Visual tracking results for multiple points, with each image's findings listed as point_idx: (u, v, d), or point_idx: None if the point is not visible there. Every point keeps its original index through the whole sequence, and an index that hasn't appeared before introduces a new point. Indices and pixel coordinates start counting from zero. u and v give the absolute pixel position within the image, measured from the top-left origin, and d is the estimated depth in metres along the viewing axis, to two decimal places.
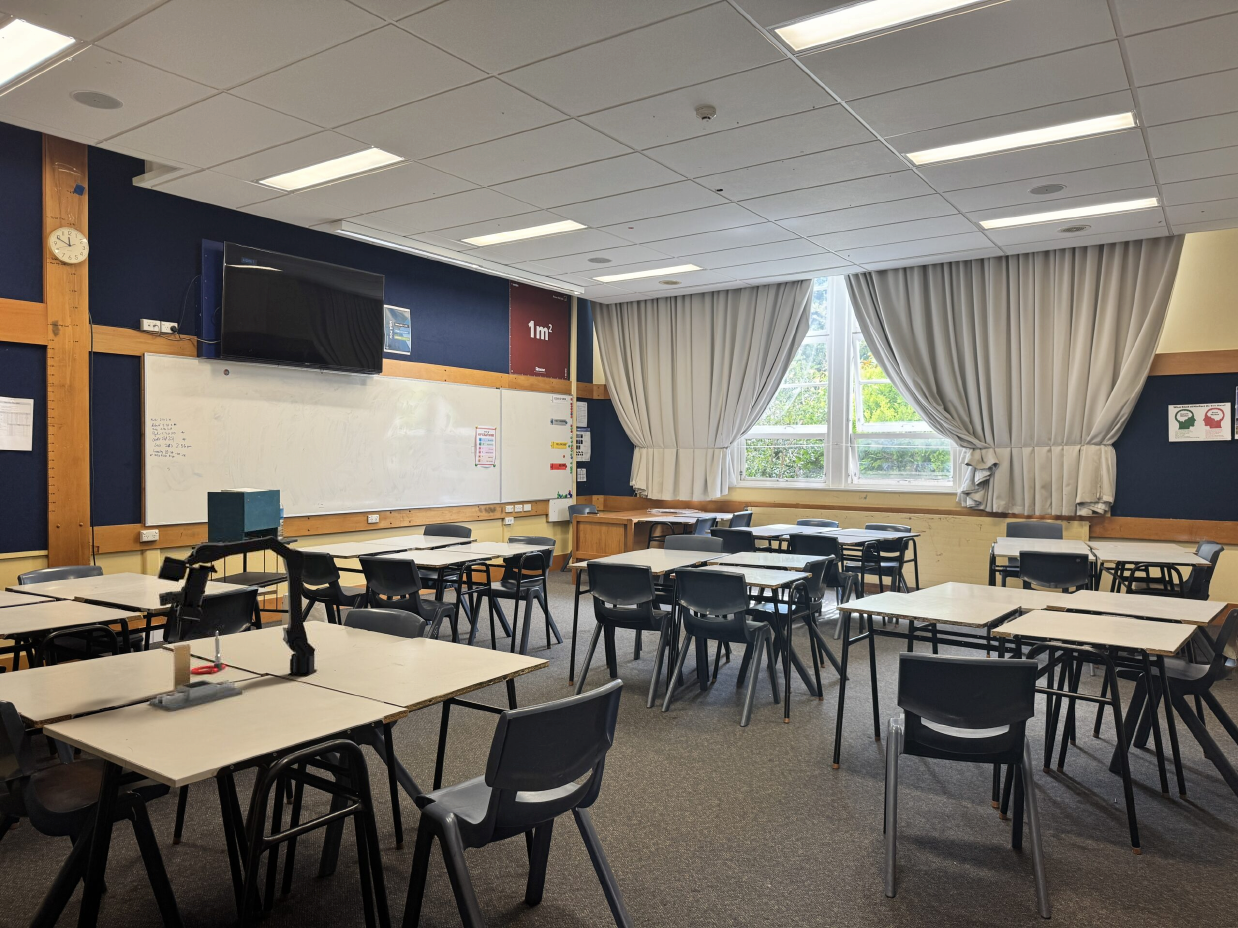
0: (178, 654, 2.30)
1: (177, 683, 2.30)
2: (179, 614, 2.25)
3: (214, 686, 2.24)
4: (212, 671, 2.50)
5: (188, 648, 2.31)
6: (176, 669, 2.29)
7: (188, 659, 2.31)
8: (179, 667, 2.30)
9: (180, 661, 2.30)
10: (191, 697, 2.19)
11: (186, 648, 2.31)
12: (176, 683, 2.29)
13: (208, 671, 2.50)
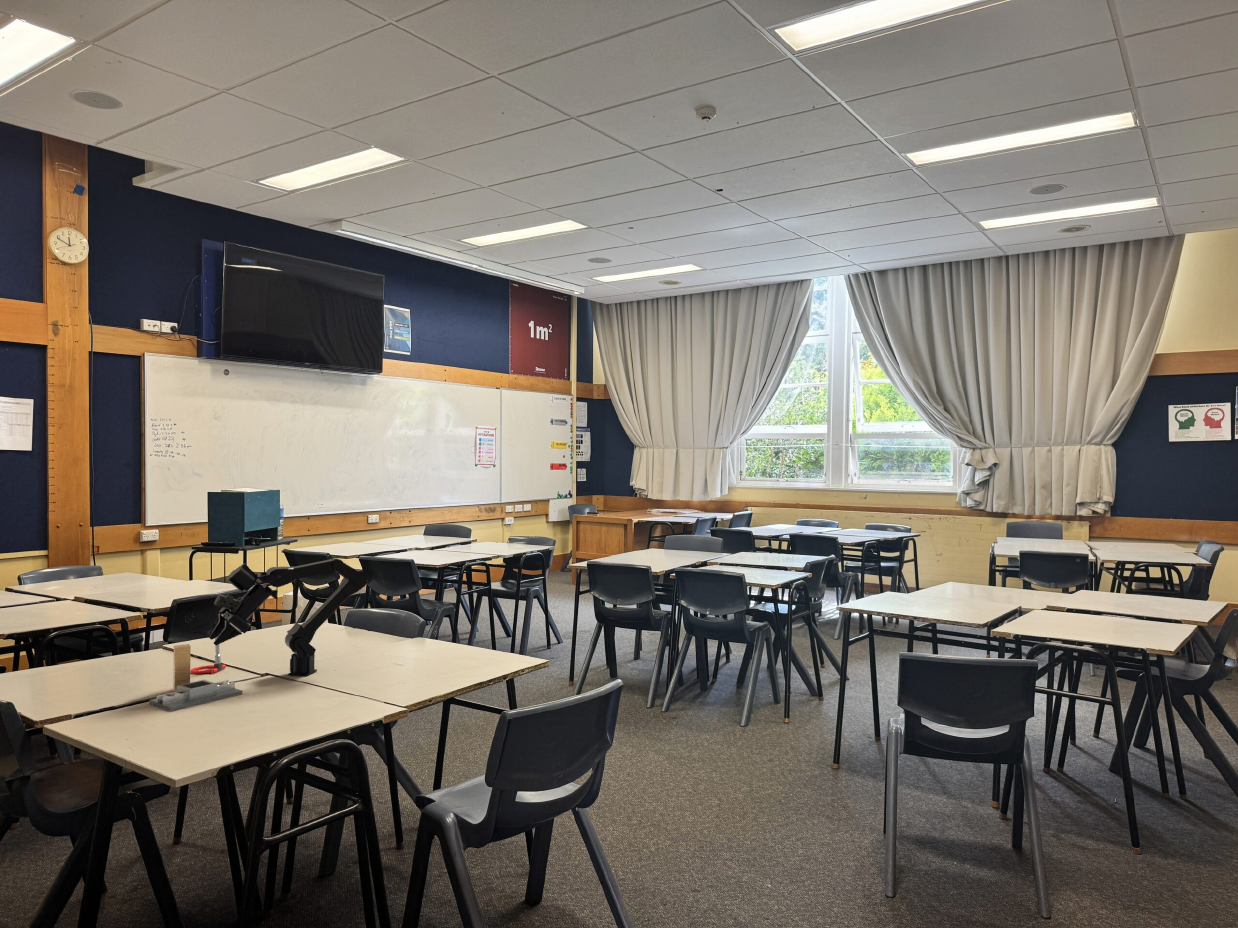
0: (178, 654, 2.30)
1: (177, 683, 2.30)
2: (230, 620, 2.31)
3: (214, 686, 2.24)
4: (212, 671, 2.50)
5: (188, 648, 2.31)
6: (176, 669, 2.29)
7: (188, 659, 2.31)
8: (179, 667, 2.30)
9: (180, 661, 2.30)
10: (191, 697, 2.19)
11: (186, 648, 2.31)
12: (176, 683, 2.29)
13: (208, 671, 2.50)
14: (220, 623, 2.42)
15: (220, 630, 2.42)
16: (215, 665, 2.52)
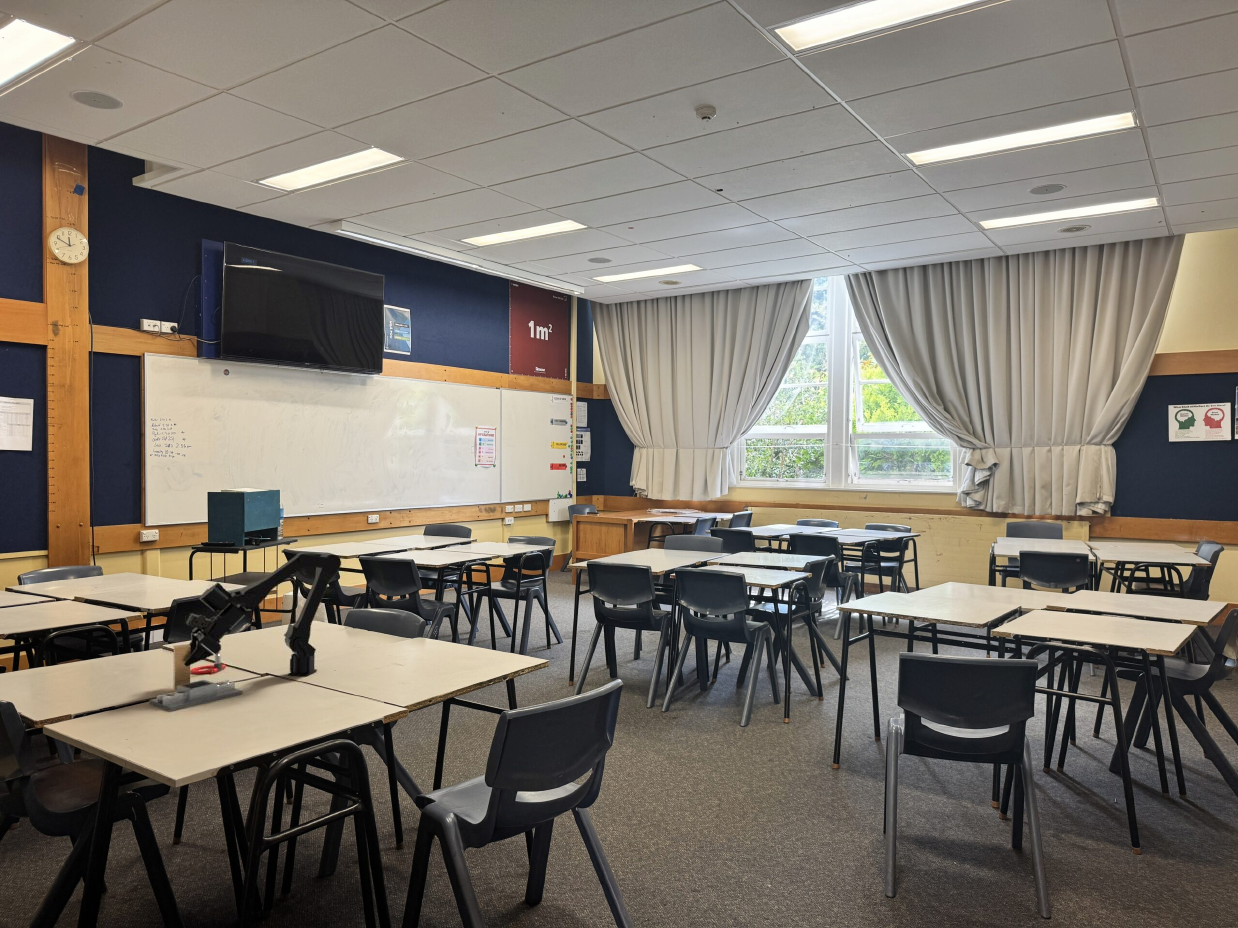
0: (178, 654, 2.30)
1: (177, 683, 2.30)
2: (201, 641, 2.27)
3: (214, 686, 2.24)
4: (212, 671, 2.50)
5: (188, 648, 2.31)
6: (176, 669, 2.29)
7: None
8: (179, 667, 2.30)
9: (180, 661, 2.30)
10: (191, 697, 2.19)
11: (186, 648, 2.31)
12: (176, 683, 2.29)
13: (208, 671, 2.50)
14: (192, 643, 2.38)
15: (192, 650, 2.38)
16: (215, 665, 2.52)
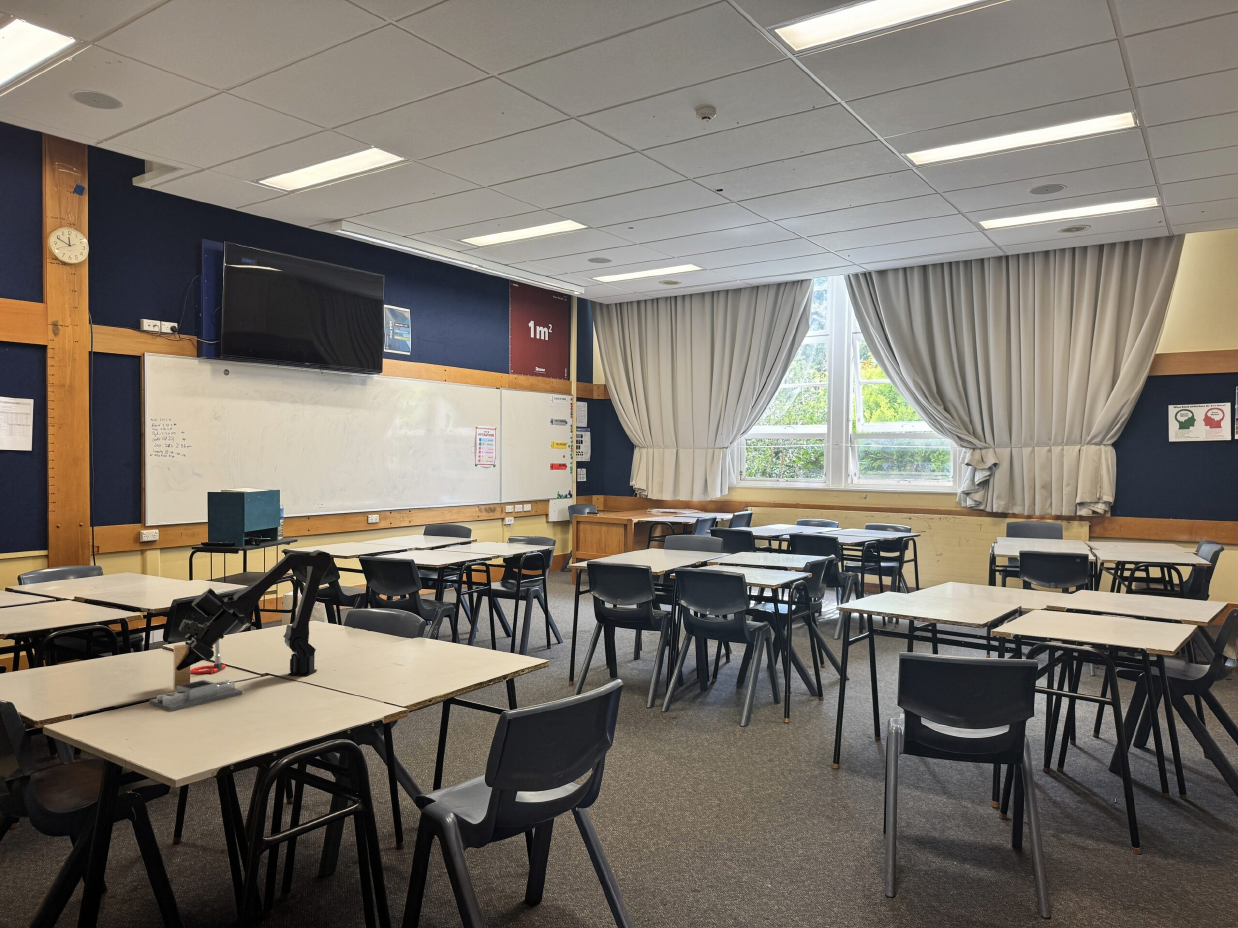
0: (178, 654, 2.30)
1: (177, 683, 2.30)
2: (194, 647, 2.26)
3: (214, 686, 2.24)
4: (212, 671, 2.50)
5: None
6: (176, 669, 2.29)
7: None
8: None
9: (180, 661, 2.30)
10: (191, 697, 2.19)
11: (186, 648, 2.31)
12: (176, 683, 2.29)
13: (208, 671, 2.50)
14: None
15: None
16: (215, 665, 2.52)
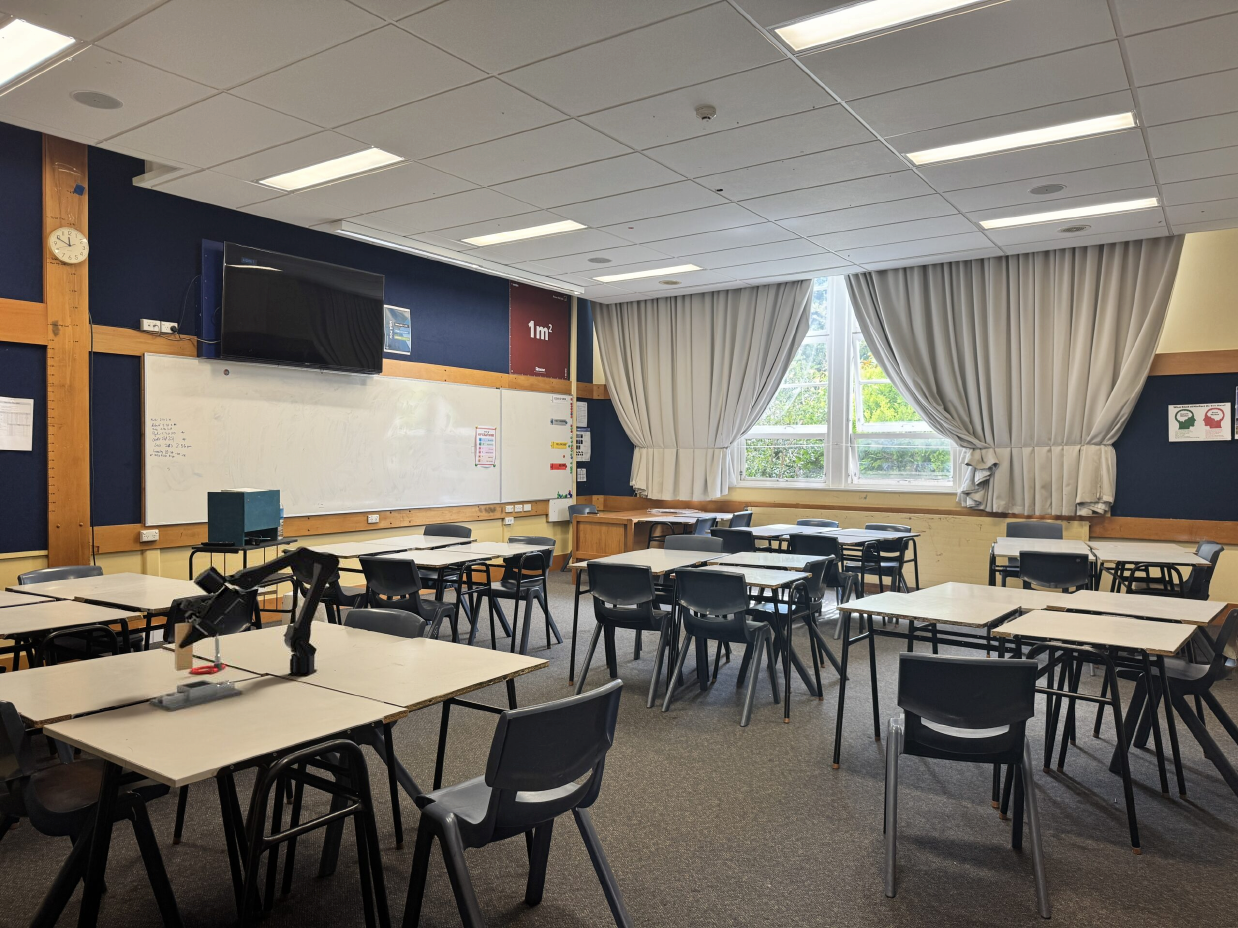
0: (180, 632, 2.28)
1: (180, 661, 2.28)
2: (199, 624, 2.24)
3: (214, 686, 2.24)
4: (212, 671, 2.50)
5: (190, 626, 2.29)
6: None
7: None
8: None
9: (183, 639, 2.28)
10: (191, 697, 2.19)
11: (188, 626, 2.29)
12: (179, 661, 2.27)
13: (208, 671, 2.50)
14: None
15: None
16: (215, 665, 2.52)
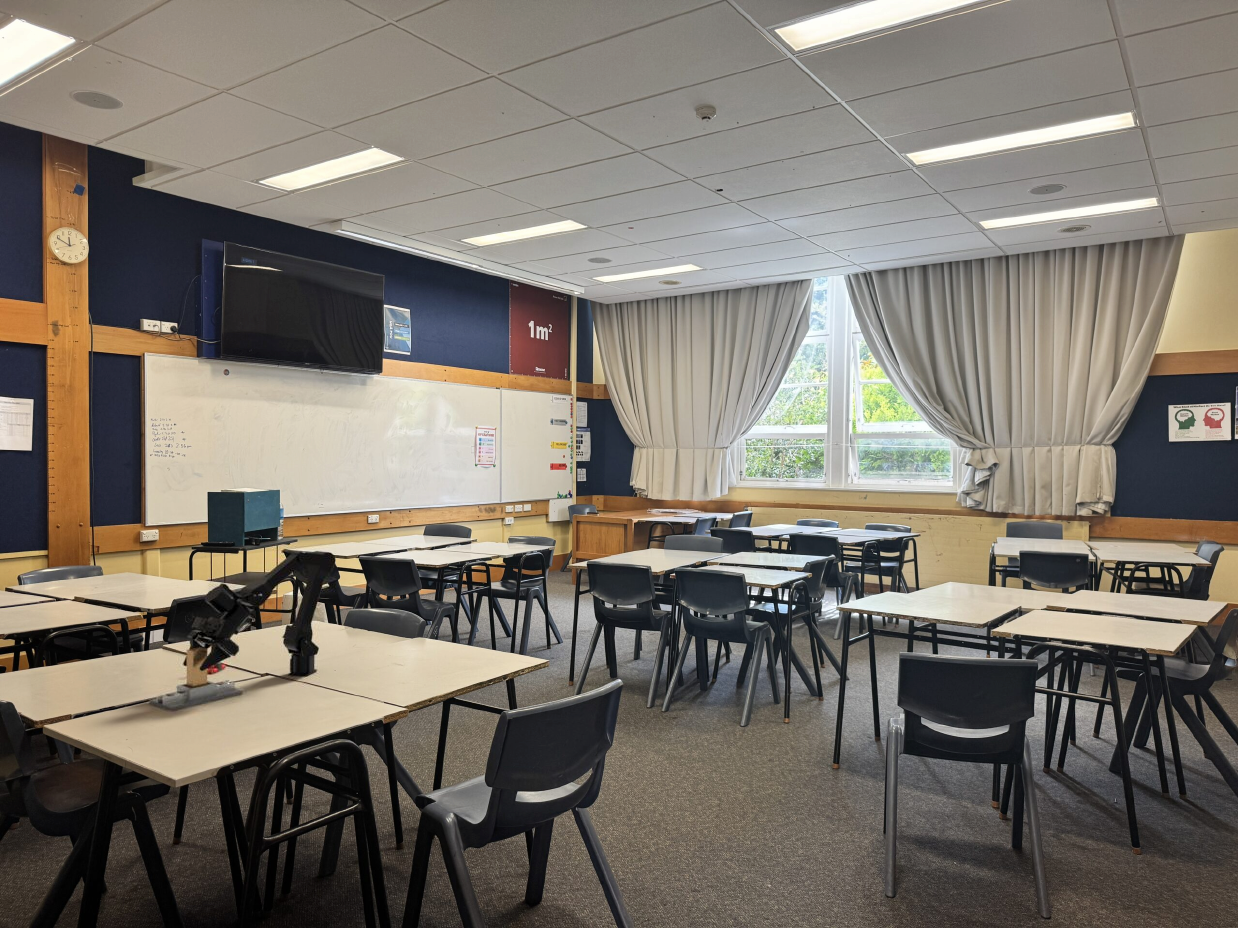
0: (196, 657, 2.22)
1: None
2: (222, 643, 2.20)
3: (214, 686, 2.24)
4: (212, 671, 2.50)
5: (205, 651, 2.24)
6: (194, 673, 2.21)
7: None
8: (197, 671, 2.22)
9: (198, 665, 2.22)
10: (191, 697, 2.19)
11: (203, 651, 2.23)
12: None
13: (208, 671, 2.50)
14: (193, 648, 2.27)
15: None
16: (215, 665, 2.52)
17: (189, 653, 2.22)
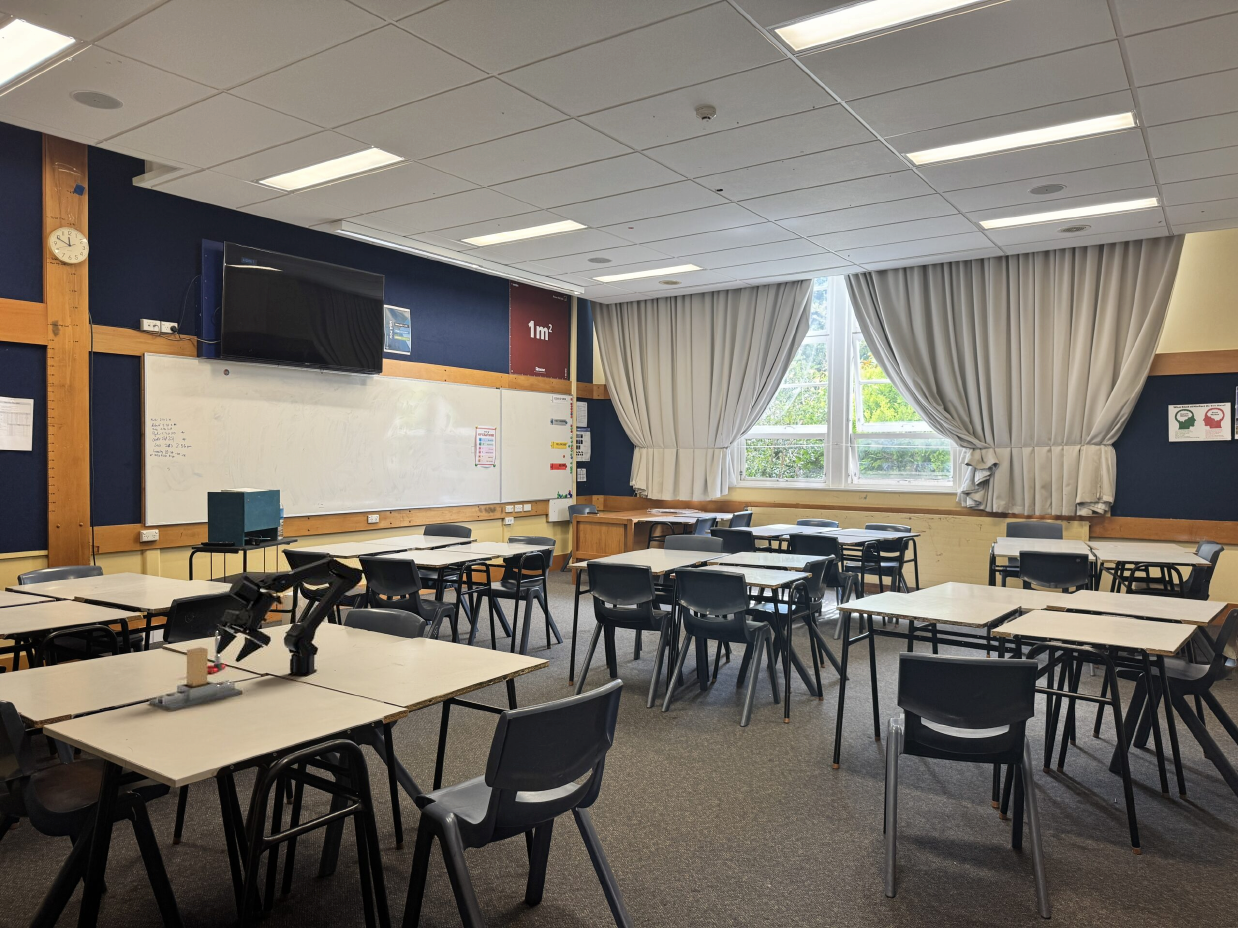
0: (196, 657, 2.22)
1: None
2: (255, 637, 2.30)
3: (214, 686, 2.24)
4: (212, 671, 2.50)
5: (205, 651, 2.24)
6: (194, 673, 2.21)
7: (205, 662, 2.24)
8: (197, 671, 2.22)
9: (198, 665, 2.22)
10: (191, 697, 2.19)
11: (203, 651, 2.23)
12: None
13: (208, 671, 2.50)
14: (224, 636, 2.37)
15: (225, 643, 2.37)
16: (215, 665, 2.52)
17: (189, 653, 2.22)
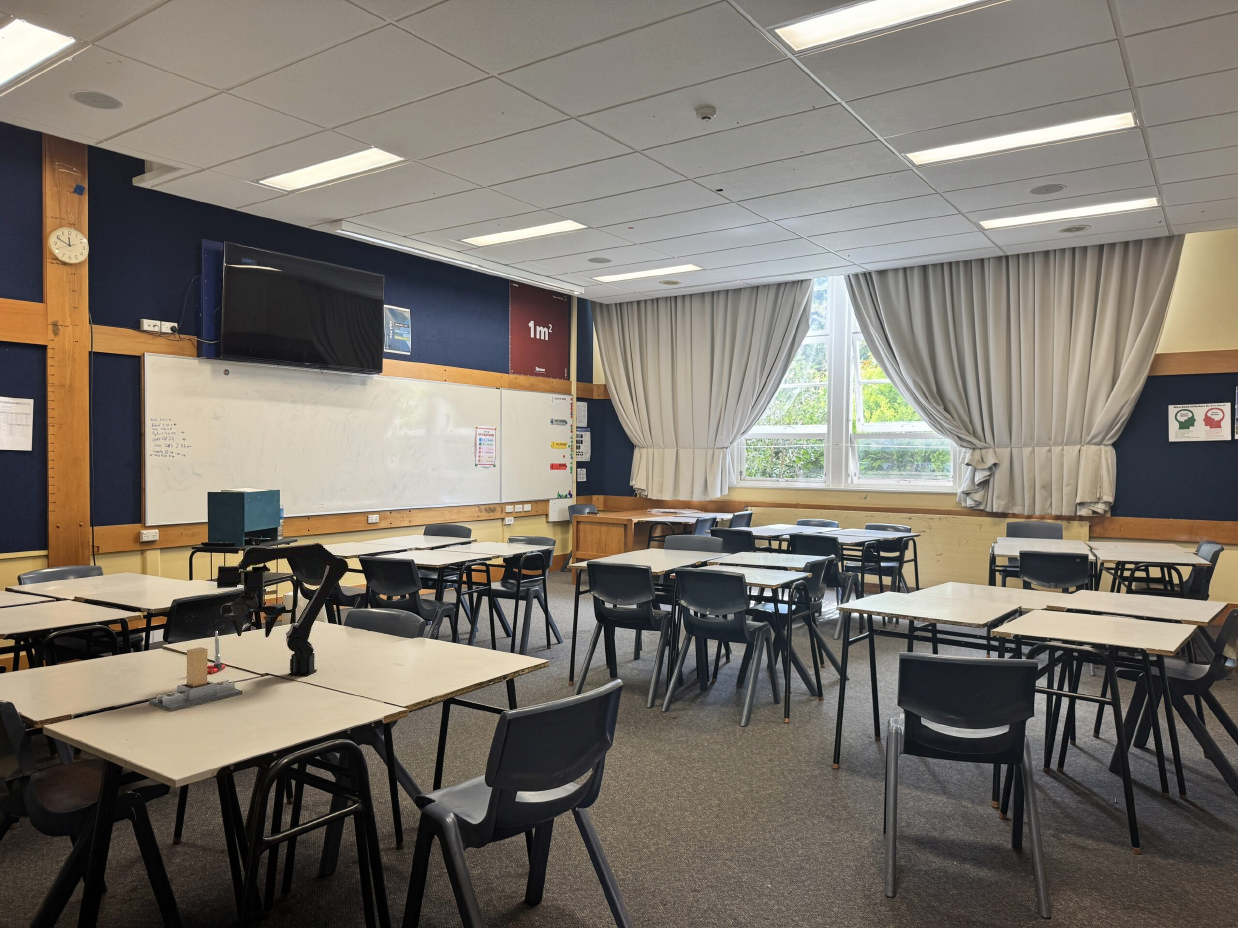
0: (196, 657, 2.22)
1: None
2: (275, 614, 2.41)
3: (214, 686, 2.24)
4: (212, 671, 2.50)
5: (205, 651, 2.24)
6: (194, 673, 2.21)
7: (205, 662, 2.24)
8: (197, 671, 2.22)
9: (198, 665, 2.22)
10: (191, 697, 2.19)
11: (203, 651, 2.23)
12: None
13: (208, 671, 2.50)
14: (236, 620, 2.45)
15: (240, 624, 2.46)
16: (215, 665, 2.52)
17: (189, 653, 2.22)
